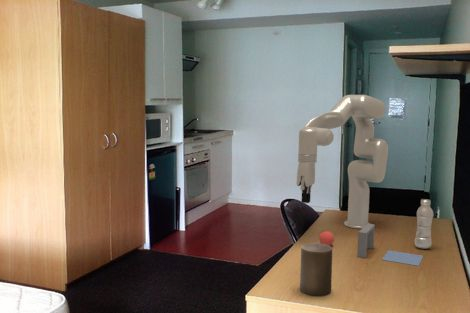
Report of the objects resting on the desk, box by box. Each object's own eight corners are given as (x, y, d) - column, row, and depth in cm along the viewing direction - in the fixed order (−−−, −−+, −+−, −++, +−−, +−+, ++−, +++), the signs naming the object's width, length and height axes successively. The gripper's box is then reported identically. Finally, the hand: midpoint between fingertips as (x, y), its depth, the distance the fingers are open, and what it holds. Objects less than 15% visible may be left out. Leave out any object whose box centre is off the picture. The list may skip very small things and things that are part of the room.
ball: (321, 242, 198) (322, 228, 197) (335, 245, 195) (336, 230, 195) (317, 246, 193) (317, 232, 192) (331, 248, 190) (331, 234, 189)
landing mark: (388, 250, 189) (388, 250, 189) (423, 256, 183) (423, 255, 183) (381, 260, 177) (381, 259, 177) (418, 266, 171) (418, 265, 171)
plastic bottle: (411, 248, 193) (414, 199, 191) (418, 244, 198) (421, 197, 196) (427, 251, 189) (430, 202, 187) (433, 248, 194) (437, 200, 192)
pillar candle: (336, 295, 144) (338, 246, 142) (305, 297, 142) (307, 248, 140) (323, 283, 153) (325, 238, 152) (295, 285, 151) (296, 239, 150)
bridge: (357, 256, 181) (358, 231, 180) (366, 246, 194) (367, 223, 193) (365, 258, 179) (366, 233, 178) (373, 247, 192) (374, 224, 191)
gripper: (305, 156, 203) (303, 198, 205) (292, 159, 190) (290, 204, 192) (321, 157, 199) (320, 200, 201) (310, 161, 186) (308, 206, 188)
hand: (305, 202), depth 197 cm, fingers closed
